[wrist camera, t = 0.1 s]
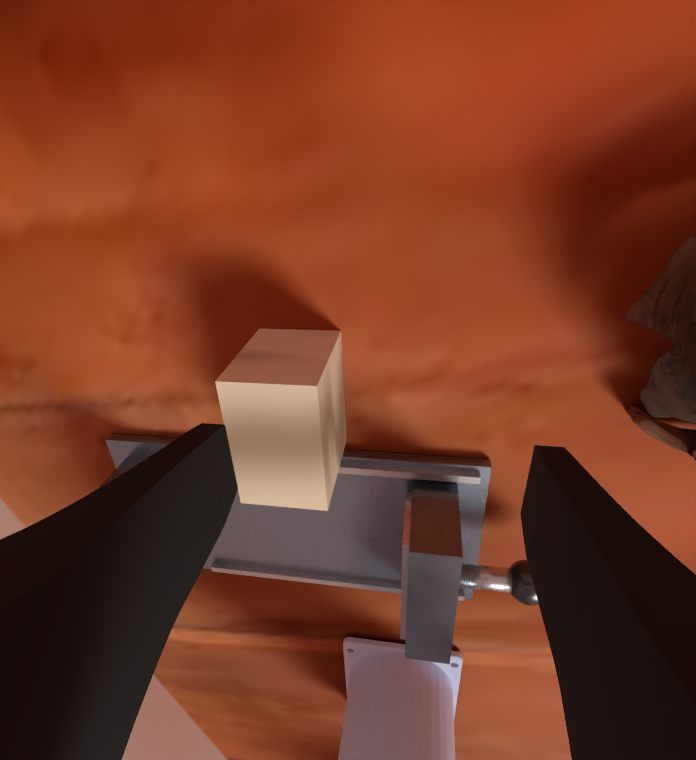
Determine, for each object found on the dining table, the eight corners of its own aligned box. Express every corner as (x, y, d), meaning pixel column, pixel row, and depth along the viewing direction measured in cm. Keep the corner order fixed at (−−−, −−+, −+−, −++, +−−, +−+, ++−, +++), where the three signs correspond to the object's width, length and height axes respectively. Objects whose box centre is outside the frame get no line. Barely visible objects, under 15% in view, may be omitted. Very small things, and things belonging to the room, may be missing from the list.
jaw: (528, 595, 25) (545, 677, 22) (403, 581, 27) (398, 657, 23) (554, 491, 22) (580, 569, 18) (406, 479, 23) (401, 551, 19)
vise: (471, 590, 27) (478, 678, 23) (156, 554, 30) (110, 626, 26) (490, 459, 22) (504, 540, 18) (111, 433, 25) (46, 497, 21)
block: (347, 438, 23) (327, 510, 19) (275, 434, 24) (240, 503, 19) (341, 329, 20) (316, 386, 16) (259, 327, 21) (214, 381, 16)
